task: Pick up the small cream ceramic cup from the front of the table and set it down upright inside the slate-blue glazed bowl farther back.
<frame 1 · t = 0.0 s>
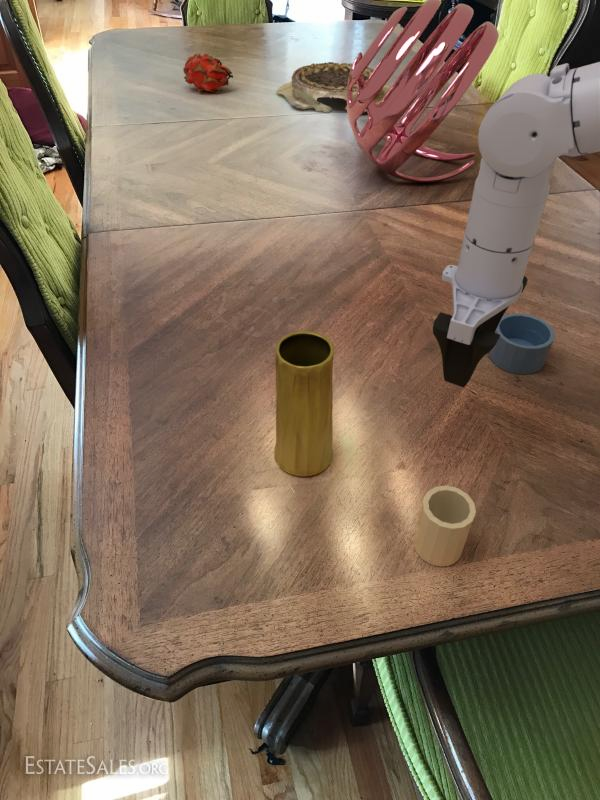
hand: (467, 359, 61), 9 cm above the table, tool pointing down, fingers open, 7 cm apart
vase: (303, 455, 64), on the table
bowl: (516, 356, 76), on the table
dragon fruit: (209, 91, 146), on the table
cup: (437, 545, 56), on the table
pie: (337, 96, 144), on the table
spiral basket: (407, 167, 115), on the table
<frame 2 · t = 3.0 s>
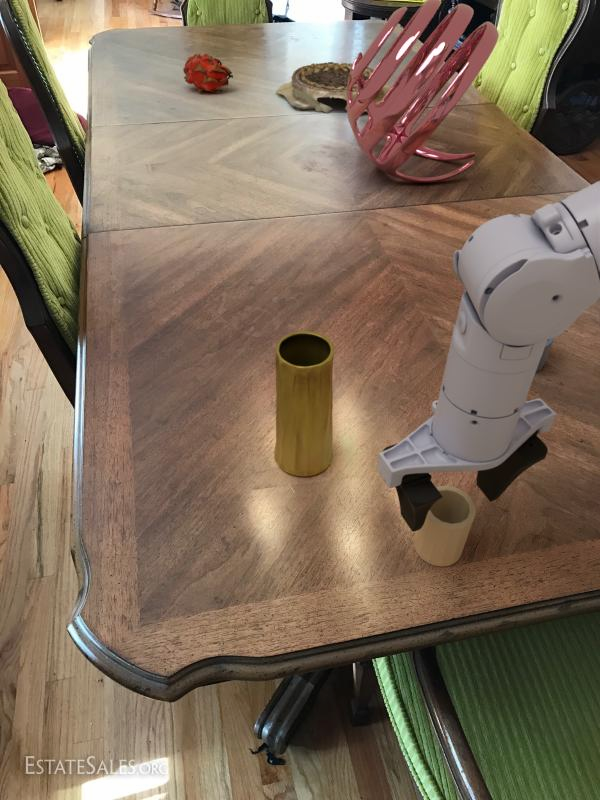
hand: (449, 506, 52), 6 cm above the table, tool pointing down, fingers open, 7 cm apart
nothing on the table moved.
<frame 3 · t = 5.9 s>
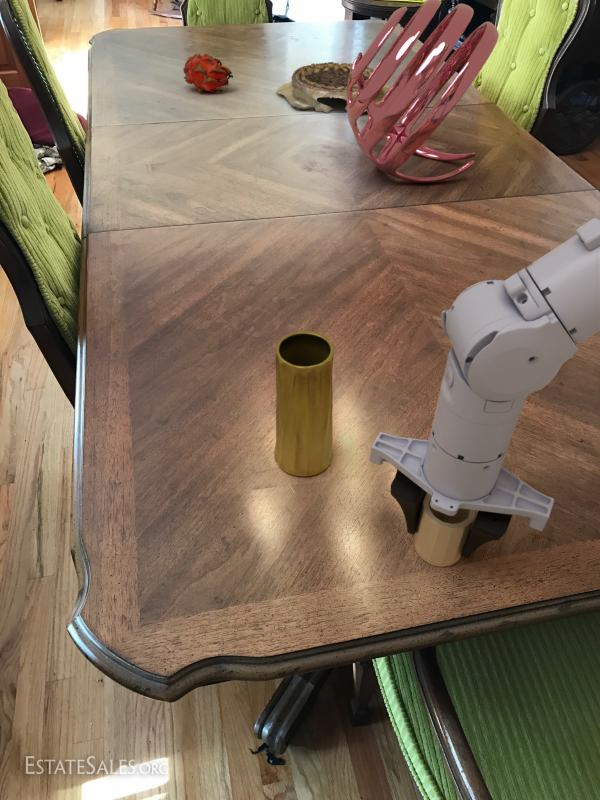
hand: (440, 536, 55), 1 cm above the table, tool pointing down, fingers closed on cup, 4 cm apart
cup: (438, 545, 56), on the table, touching gripper
everything else where it was.
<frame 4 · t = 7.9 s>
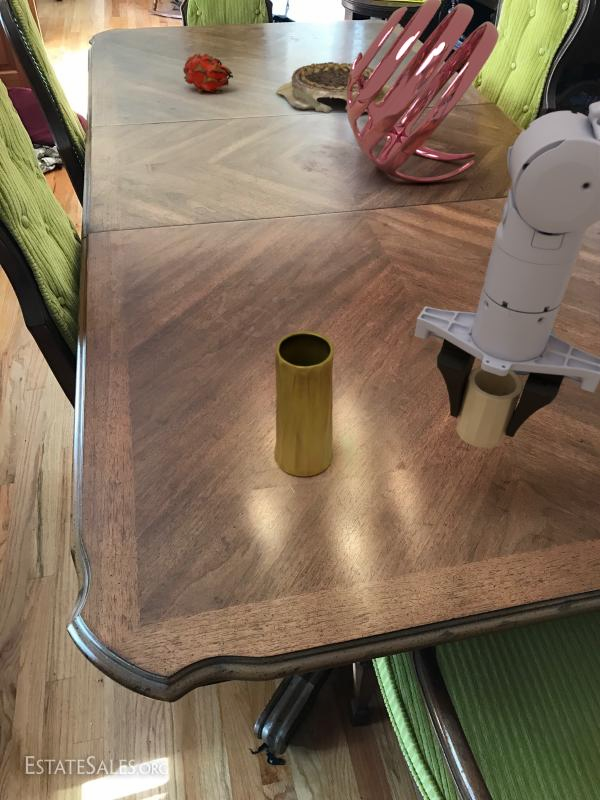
hand: (483, 419, 55), 9 cm above the table, tool pointing down, fingers closed on cup, 4 cm apart
cup: (480, 430, 56), point 8 cm above the table, touching gripper
everything else where it was.
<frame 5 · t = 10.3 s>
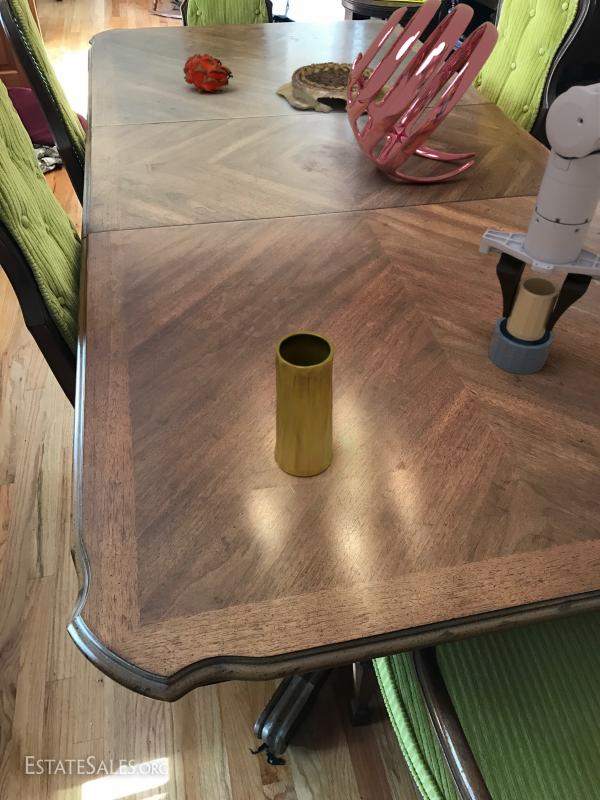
hand: (528, 319, 72), 6 cm above the table, tool pointing down, fingers closed on cup, 4 cm apart
cup: (525, 329, 73), point 4 cm above the table, touching gripper
everything else where it was.
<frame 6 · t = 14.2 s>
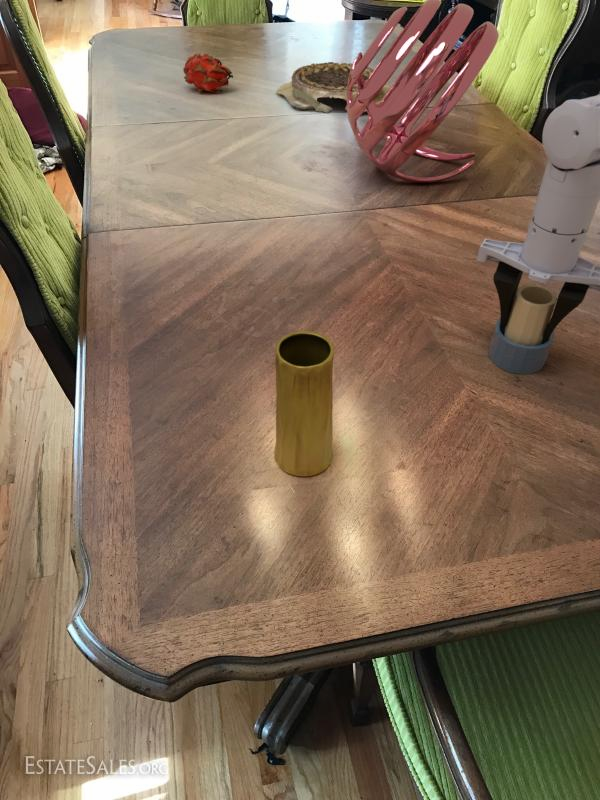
hand: (525, 327, 73), 4 cm above the table, tool pointing down, fingers closed on cup, 4 cm apart
cup: (522, 337, 74), point 3 cm above the table, touching gripper
everything else where it was.
when the fingers open (4 cm above the table, at t = 14.7 s): cup drops 2 cm, resting on bowl.
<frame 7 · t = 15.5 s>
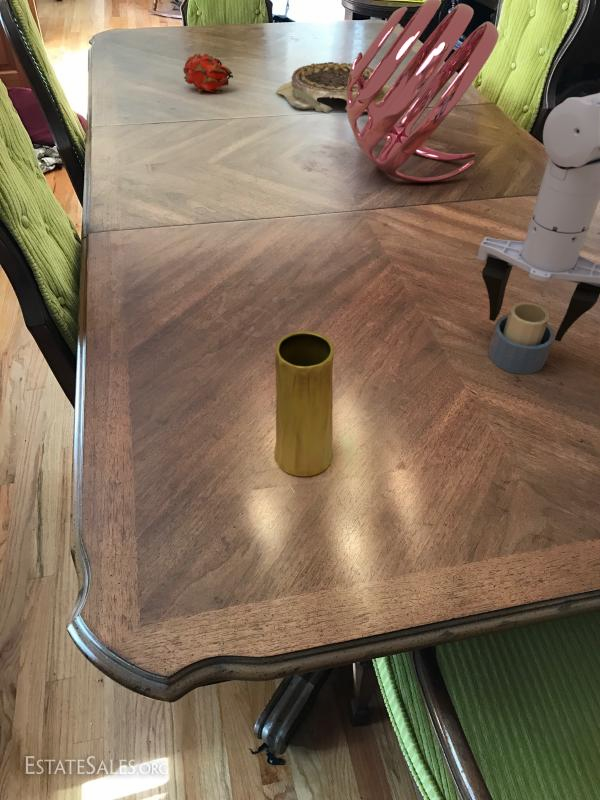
hand: (526, 326, 72), 5 cm above the table, tool pointing down, fingers open, 7 cm apart
cup: (517, 352, 75), resting on bowl
everything else where it was.
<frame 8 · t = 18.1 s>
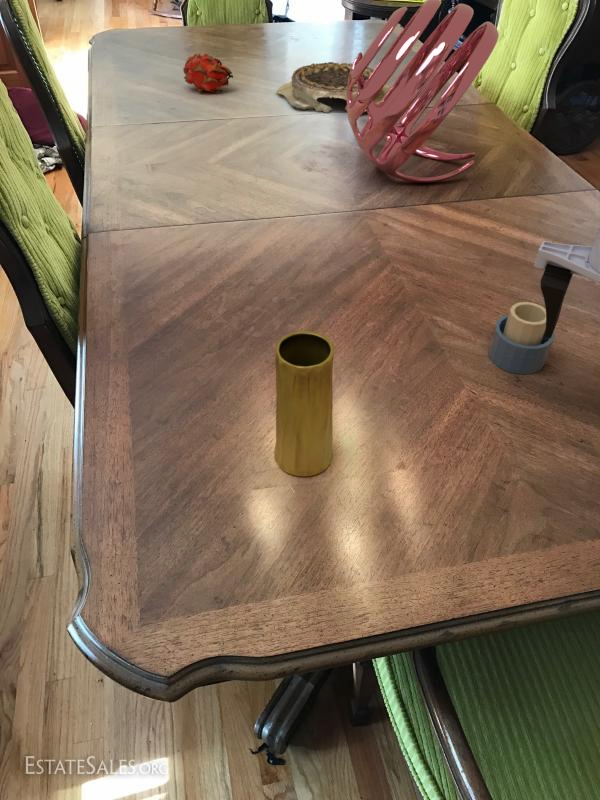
hand: (587, 343, 62), 9 cm above the table, tool pointing down, fingers open, 7 cm apart
nothing on the table moved.
at the end: cup 0.0 cm off-centre in the bowl, point 0.5 cm above the bowl's base; cup tilted 0° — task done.
